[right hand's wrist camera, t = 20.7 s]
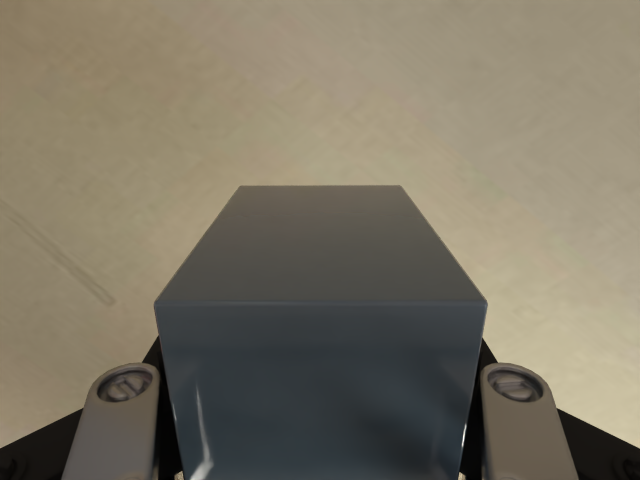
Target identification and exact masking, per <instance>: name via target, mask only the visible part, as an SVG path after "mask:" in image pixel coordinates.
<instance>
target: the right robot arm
mask: <svg viewBox="0 0 640 480" xmlns="http://www.w3.org/2000/svg"><path fill="white" fill-rule="evenodd" d="M181 471H182V466H181V460H180V454H179V448H178V443H177V437H176V431H175V425H174V420H173V414H172V408H171V402H170V396H169V391H168V385H167V379H166V373H165V368H164V362H163V356H162V350H161V345H160V339H159V335H158V337H157V339H156V340H155V342H154V344H153V345H152V347H151V348H150V350H149V352H148V353H147V355H146V356H145V358H144V360H143V361H142V363H129V364H125V365H121V366H118V367H116V368H113V369H111V370H109V371H107V372H106V373H104V374H103V375H101V376H100V377H99V378H98V379H97V380H96V381H95V382H94V383H93V384H92V386H91V388H90V390H89V392H88V395H87V399H86V402H85V405H84V408H82V409H80V410H78V411H76V412H74V413H72V414H70V415H68V416H66V417H64V418H62V419H60V420H58V421H55V422H53V423H51V424H49V425H47V426H45V427H43V428H41V429H39V430H37V431H35V432H33V433H31V434H29V435H27V436H25V437H23V438H21V439H19V440H17V441H15V442H13V443H11V444H8V445H6V446H4V447H2V448H0V480H178V475H177V474H178V473H179V472H181ZM459 472H461V473H462V474H463V475H462V480H640V449H639V448H637V447H635V446H633V445H631V444H629V443H627V442H625V441H623V440H621V439H619V438H617V437H615V436H613V435H611V434H609V433H607V432H605V431H603V430H601V429H599V428H597V427H595V426H592V425H590V424H588V423H586V422H584V421H582V420H580V419H578V418H576V417H574V416H572V415H570V414H568V413H566V412H564V411H562V410H560V409H558V408H556V405H555V402H554V399H553V395H552V392H551V390H550V388H549V386H548V384H547V383H546V382H545V381H544V380H543V379H542V378H541V377H540V376H539V375H537V374H536V373H534V372H533V371H531V370H529V369H527V368H524V367H522V366H519V365H515V364H511V363H498V362H497V360H496V359H495V357H494V355H493V354H492V352H491V351H490V349H489V347H488V346H487V344H486V342H485V341H484V339H483V338H482V342H481V347H480V353H479V359H478V365H477V371H476V377H475V383H474V389H473V394H472V400H471V406H470V412H469V418H468V424H467V430H466V436H465V442H464V447H463V453H462V459H461V465H460V471H459Z"/></svg>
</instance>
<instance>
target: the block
mask: <svg viewBox="0 0 640 480" xmlns="http://www.w3.org/2000/svg"><path fill="white" fill-rule="evenodd" d="M487 306H488V303H487V300H486V299H485V298H484V296H483V295H482V294H481V292H480V291H479V290H478V288H477V287H476V286H475V284H474V283H473V282H472V280H471V279H470V277H469V276H468V275H467V273H466V272H465V271H464V269H463V268H462V267H461V265H460V264H459V263H458V261H457V260H456V259H455V257H454V256H453V255H452V253H451V252H450V251H449V249H448V248H447V247H446V245H445V244H444V243H443V241H442V240H441V239H440V237H439V236H438V235H437V233H436V232H435V231H434V229H433V228H432V226H431V225H430V224H429V222H428V221H427V220H426V218H425V217H424V216H423V214H422V213H421V212H420V210H419V209H418V208H417V206H416V205H415V204H414V202H413V201H412V200H411V198H410V197H409V196H408V194H407V193H406V192H405V190H404V189H403V188H402V186H400V185H393V186H239V188H238V189H237V190H236V192H235V193H234V194H233V196H232V197H231V198H230V200H229V201H228V202H227V204H226V205H225V207H224V208H223V209H222V211H221V212H220V213H219V215H218V216H217V217H216V219H215V220H214V221H213V223H212V224H211V226H210V227H209V228H208V230H207V231H206V232H205V234H204V235H203V236H202V238H201V239H200V240H199V242H198V243H197V245H196V246H195V247H194V249H193V250H192V251H191V253H190V254H189V255H188V257H187V258H186V259H185V261H184V262H183V263H182V265H181V266H180V268H179V269H178V270H177V272H176V273H175V274H174V276H173V277H172V278H171V280H170V281H169V282H168V284H167V285H166V287H165V288H164V289H163V291H162V292H161V293H160V295H159V296H158V297H157V299H156V300H155V302H154V310H155V316H156V322H157V327H158V333H159V339H160V345H161V350H162V356H163V362H164V368H165V373H166V379H167V385H168V391H169V396H170V402H171V408H172V414H173V420H174V425H175V431H176V437H177V443H178V448H179V454H180V460H181V466H182V471H183V477H184V480H458V477H459V471H460V465H461V459H462V453H463V447H464V442H465V436H466V430H467V424H468V418H469V412H470V406H471V400H472V394H473V389H474V383H475V377H476V371H477V365H478V359H479V353H480V347H481V342H482V336H483V330H484V324H485V318H486V312H487Z"/></svg>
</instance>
